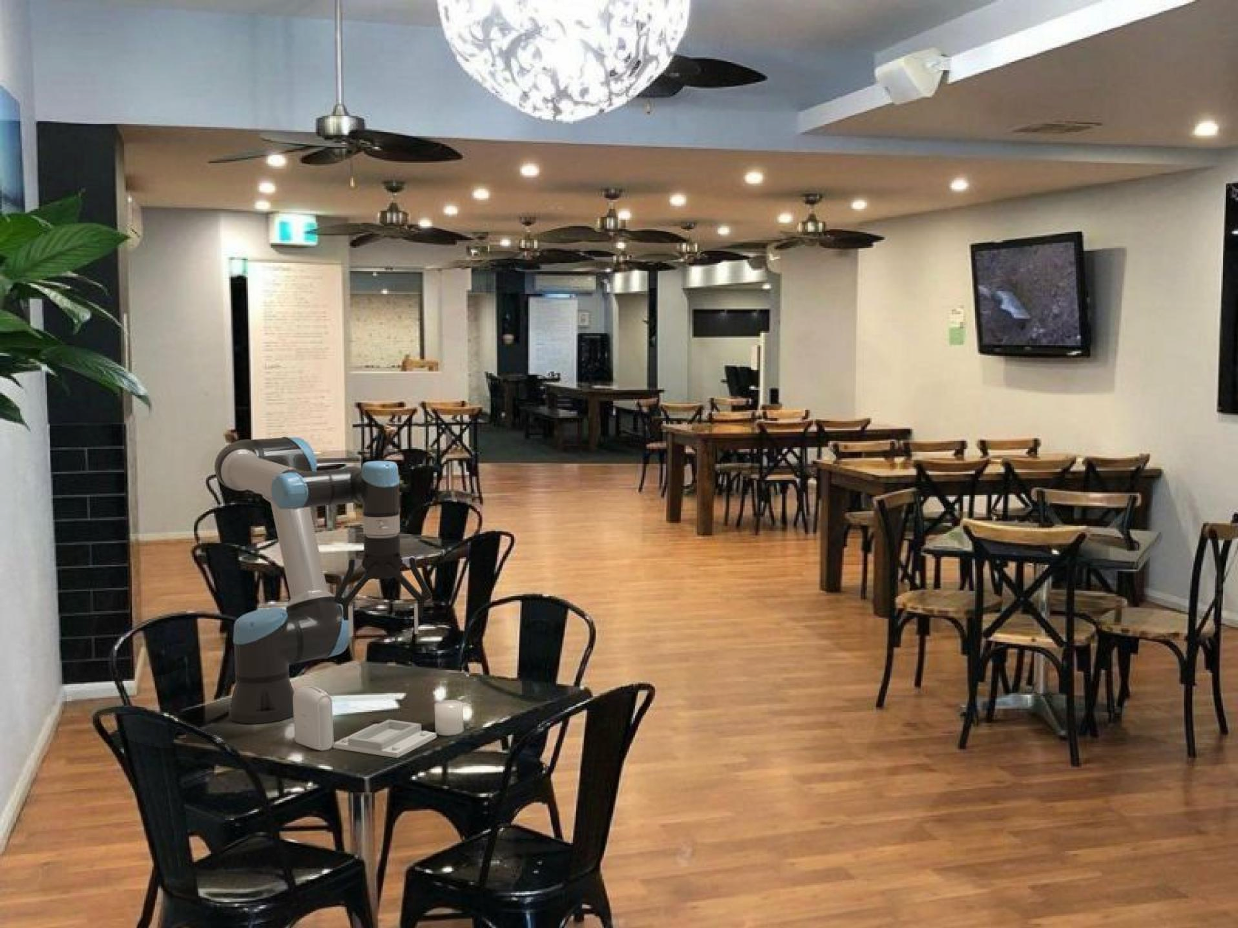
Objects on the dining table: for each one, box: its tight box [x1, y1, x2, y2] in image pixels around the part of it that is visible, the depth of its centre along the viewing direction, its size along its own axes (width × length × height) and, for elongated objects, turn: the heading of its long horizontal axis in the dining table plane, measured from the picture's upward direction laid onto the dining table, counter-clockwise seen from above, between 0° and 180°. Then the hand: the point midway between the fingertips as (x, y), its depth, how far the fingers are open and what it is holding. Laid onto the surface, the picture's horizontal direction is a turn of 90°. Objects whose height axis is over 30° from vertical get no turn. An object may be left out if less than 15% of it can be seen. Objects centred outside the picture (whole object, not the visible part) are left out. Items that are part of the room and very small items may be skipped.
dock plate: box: [332, 719, 437, 758], centre depth 249 cm, size 16×14×2 cm
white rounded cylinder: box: [434, 699, 464, 736], centre depth 257 cm, size 6×6×6 cm
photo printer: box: [293, 685, 335, 752], centre depth 248 cm, size 10×4×12 cm, turn 47°
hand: (383, 633), depth 253 cm, fingers open, 13 cm apart
